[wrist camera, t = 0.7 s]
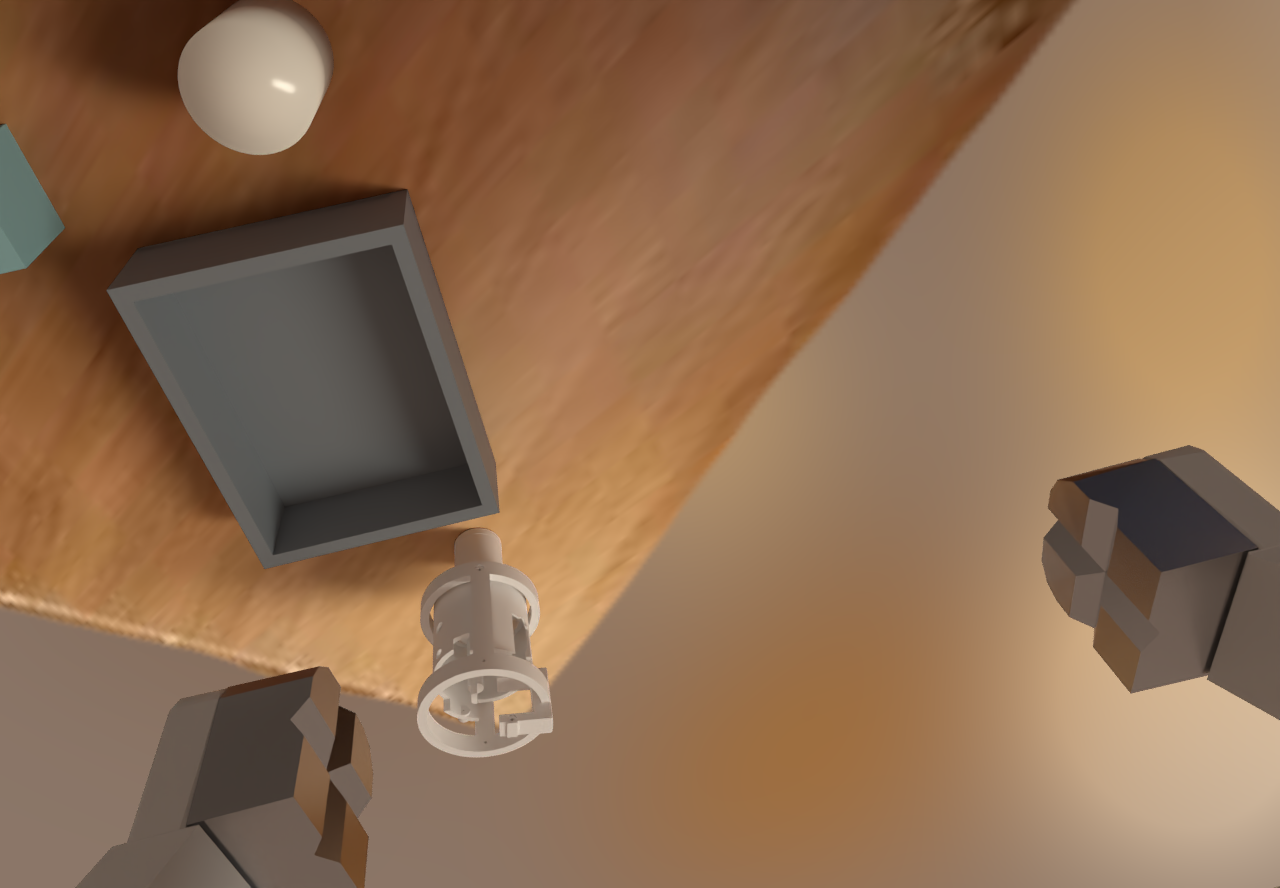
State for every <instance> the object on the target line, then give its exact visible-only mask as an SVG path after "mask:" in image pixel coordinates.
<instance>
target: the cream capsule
mask: <svg viewBox="0 0 1280 888" xmlns="http://www.w3.org/2000/svg"><path fill="white" fill-rule="evenodd" d="M333 68H334V58H333V51H332V48H331V44H330V41H329V39H328V36H327V34H326V33H325V31H324V29H323V27H322V26H321V25H320V23H319V22H318V21H317V19H316V18H315V17H314V16H313V15H312V14H311V13H310V12H309V11H308V10H307V9H305V8H304V7H302V6H301V5H300V4H298V3H296V2H294V1H293V0H239V1H237V2H236V3H234V4H233V5H231V6H230V7H229V8H228V9H226V10H225V11H224V12H222V13H221V14H220V15H219V16H217V17H216V18H215V19H214V20H212V21H211V22H210V23H208V24H207V25H206V26H205V27H203V28H202V29H201V30H199V31H198V32H197V33H196V34H195V35H194V36H193V37H192V38H191V39H190V40H189V41H188V43H187V44H186V46H185V47H184V49H183V51H182V54H181V57H180V60H179V65H178V85H179V90H180V94H181V97H182V100H183V102H184V105H185V106H186V108H187V110H188V112H189V114H190V115H191V117H192V118H193V120H194V121H195V122H196V123H197V125H198V126H199V127H200V128H201V129H202V130H203V131H204V132H205V133H206V134H207V135H209V136H210V137H211V138H213V139H214V140H215V141H217V142H219V143H220V144H222V145H224V146H226V147H228V148H230V149H233V150H235V151H238V152H242V153H247V154H254V155H266V154H273V153H277V152H280V151H283V150H285V149H287V148H289V147H291V146H292V145H294V144H295V143H296V142H297V141H299V140H300V139H301V138H302V136H303V135H304V134H305V133H306V131H307V130H308V128H309V126H310V124H311V122H312V120H313V118H314V116H315V114H316V112H317V110H318V107H319V105H320V103H321V101H322V99H323V97H324V95H325V93H326V91H327V89H328V87H329V84H330V82H331V79H332V75H333Z"/></svg>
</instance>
